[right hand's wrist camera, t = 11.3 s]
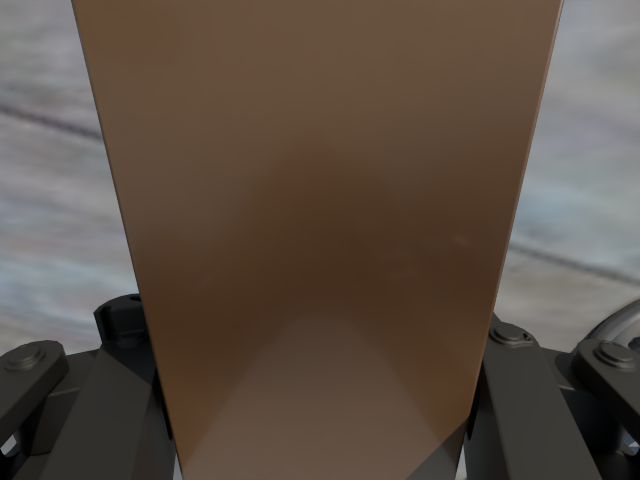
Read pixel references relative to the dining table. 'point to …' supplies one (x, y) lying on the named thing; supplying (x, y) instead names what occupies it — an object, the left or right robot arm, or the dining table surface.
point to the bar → (318, 216)
